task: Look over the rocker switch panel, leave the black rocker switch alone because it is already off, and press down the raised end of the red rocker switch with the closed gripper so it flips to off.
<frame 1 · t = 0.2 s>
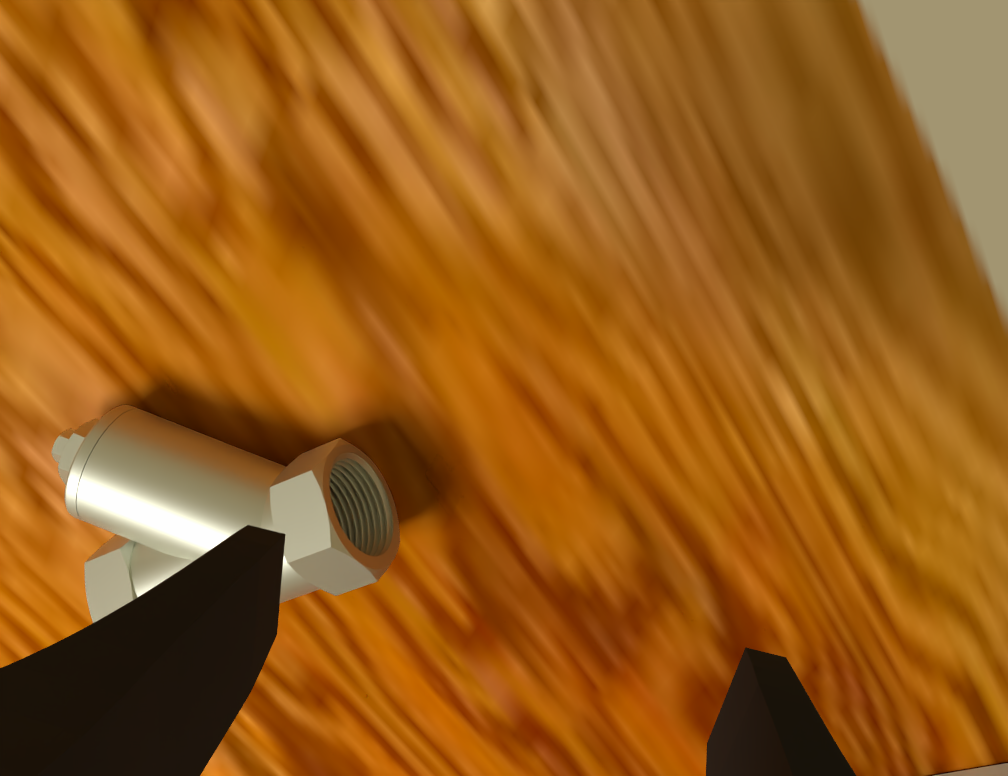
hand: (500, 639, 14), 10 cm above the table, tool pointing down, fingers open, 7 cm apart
pipe fitting: (242, 464, 26), on the table
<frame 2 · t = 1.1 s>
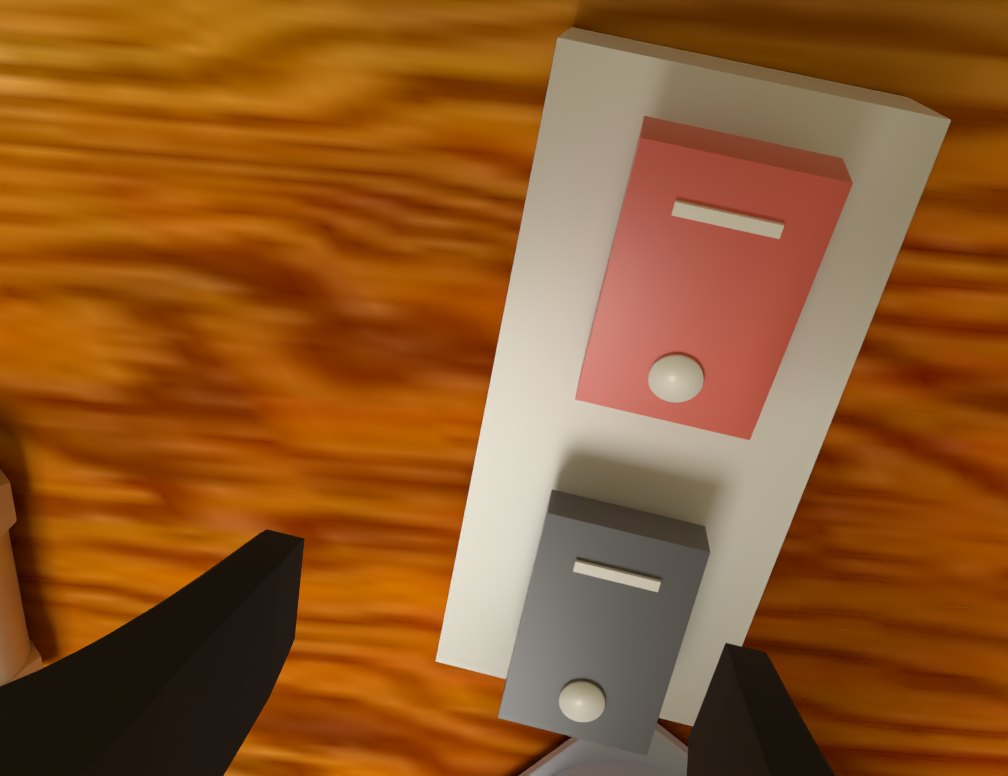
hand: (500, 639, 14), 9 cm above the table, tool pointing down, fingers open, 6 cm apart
red rocker: (699, 288, 16), point 4 cm above the table, hinge at 8.0°
black rocker: (599, 624, 20), point 4 cm above the table, hinge at -8.0°
rocker switch panel: (646, 382, 22), on the table
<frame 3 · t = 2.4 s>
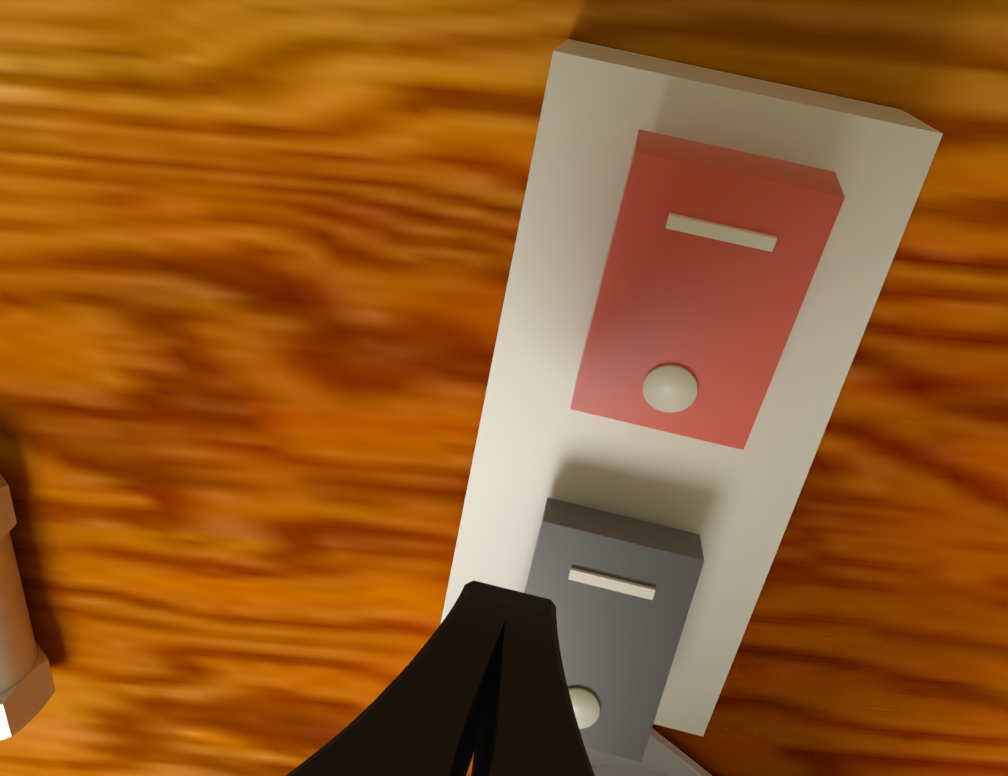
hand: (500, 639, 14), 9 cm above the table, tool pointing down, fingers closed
red rocker: (693, 299, 16), point 4 cm above the table, hinge at 8.0°
black rocker: (594, 632, 20), point 4 cm above the table, hinge at -8.0°
rocker switch panel: (642, 390, 22), on the table
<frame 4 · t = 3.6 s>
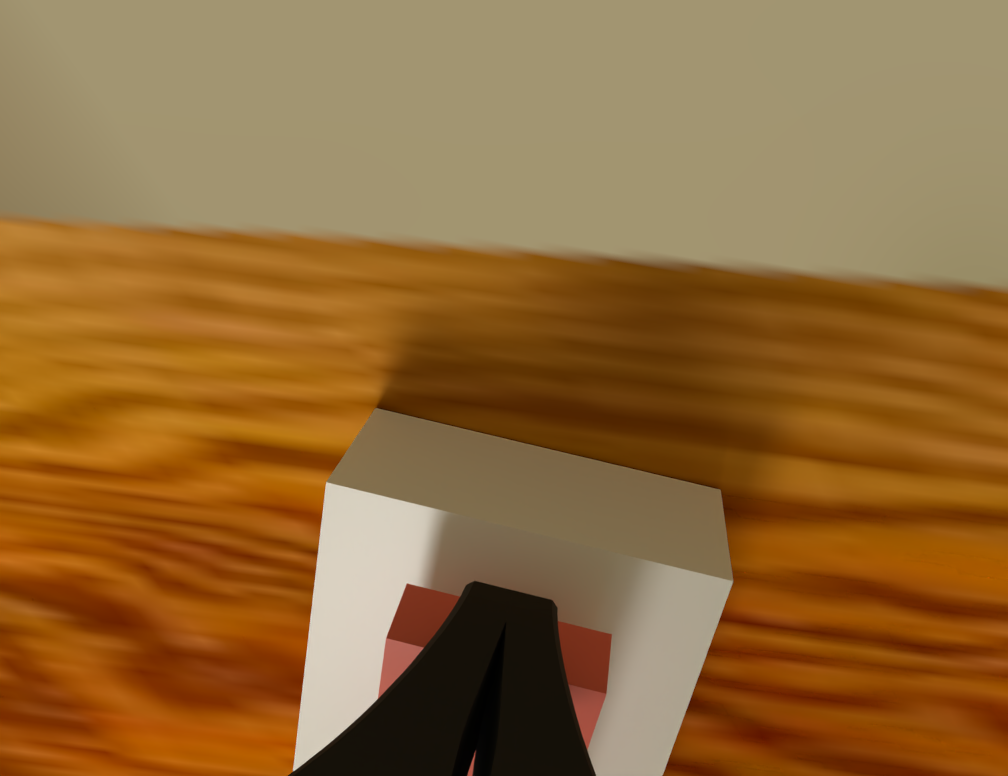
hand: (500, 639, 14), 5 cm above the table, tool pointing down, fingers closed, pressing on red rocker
red rocker: (477, 743, 15), point 4 cm above the table, hinge at 6.8°, touching gripper
rocker switch panel: (481, 724, 21), on the table
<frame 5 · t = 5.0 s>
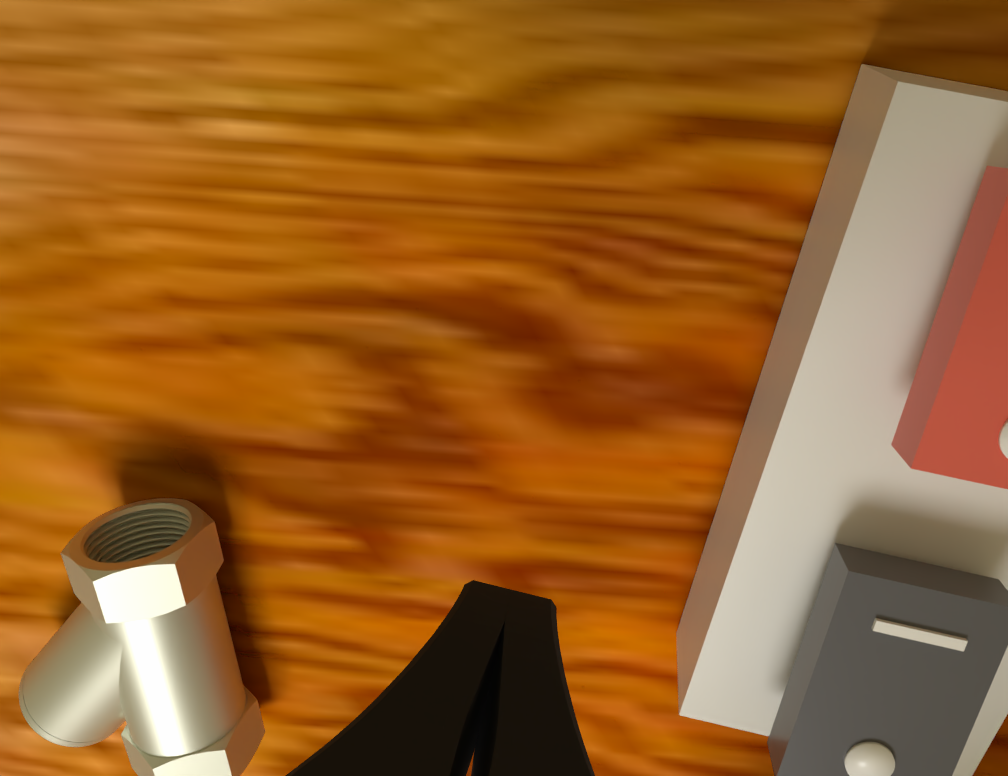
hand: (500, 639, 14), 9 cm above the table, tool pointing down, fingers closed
pipe fitting: (155, 599, 28), on the table
black rocker: (885, 682, 19), point 4 cm above the table, hinge at -8.0°
rocker switch panel: (902, 424, 21), on the table
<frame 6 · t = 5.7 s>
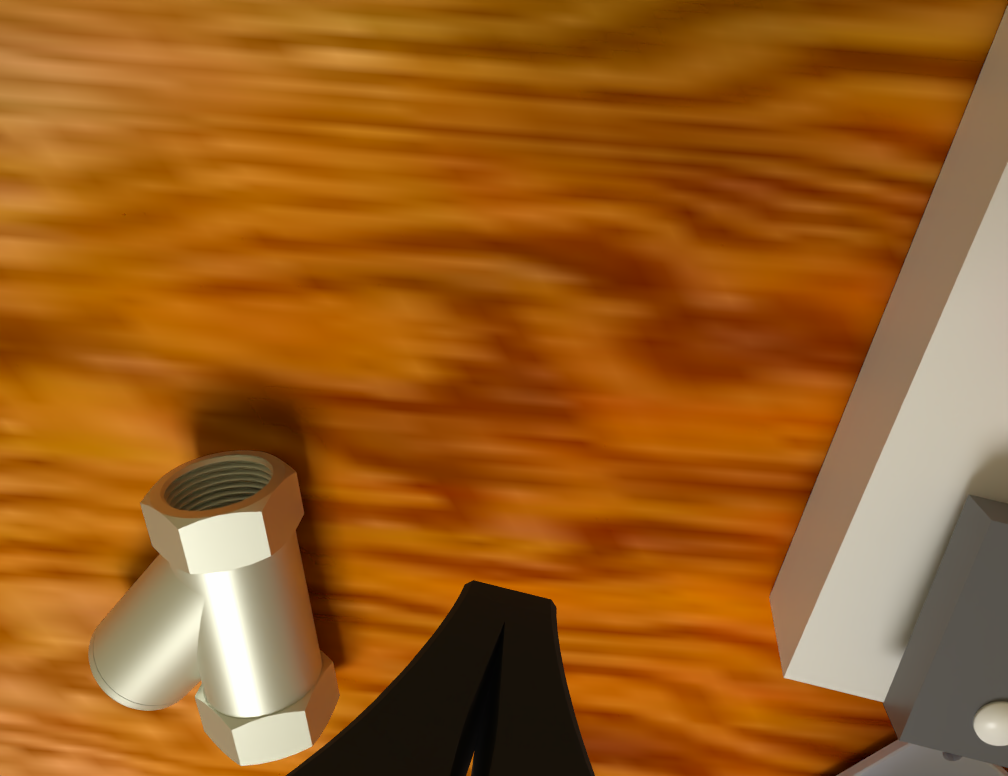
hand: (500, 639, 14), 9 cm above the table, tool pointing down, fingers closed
pipe fitting: (226, 559, 27), on the table
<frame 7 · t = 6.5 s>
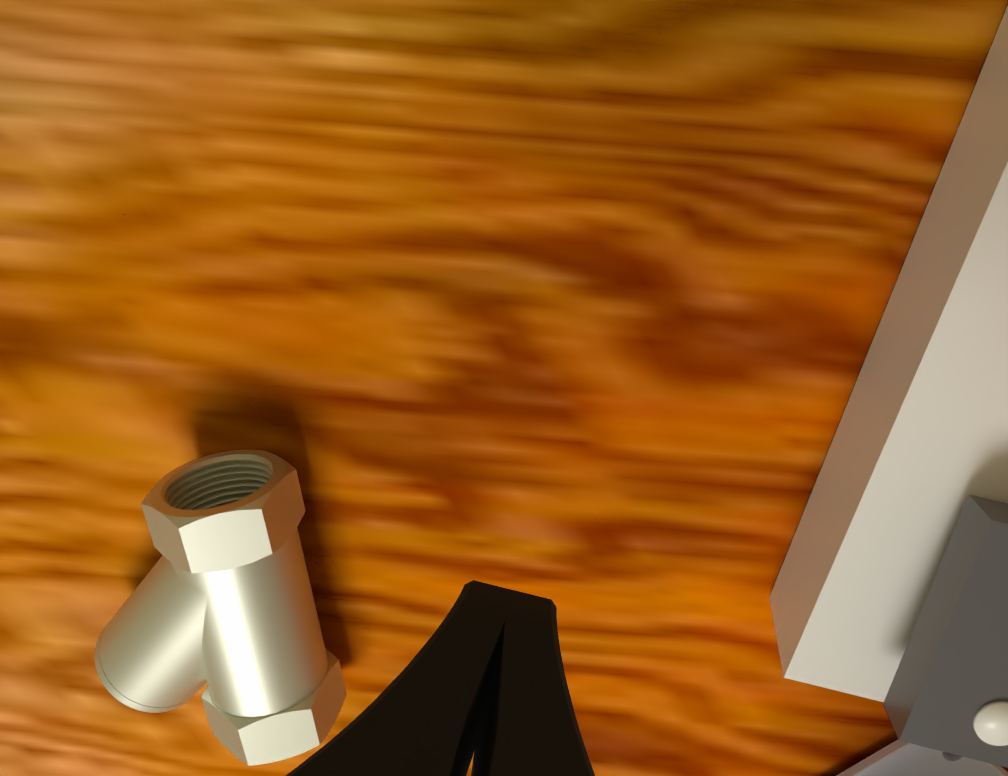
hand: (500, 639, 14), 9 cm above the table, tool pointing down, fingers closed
pipe fitting: (229, 560, 27), on the table
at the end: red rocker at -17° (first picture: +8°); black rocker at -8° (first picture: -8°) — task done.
